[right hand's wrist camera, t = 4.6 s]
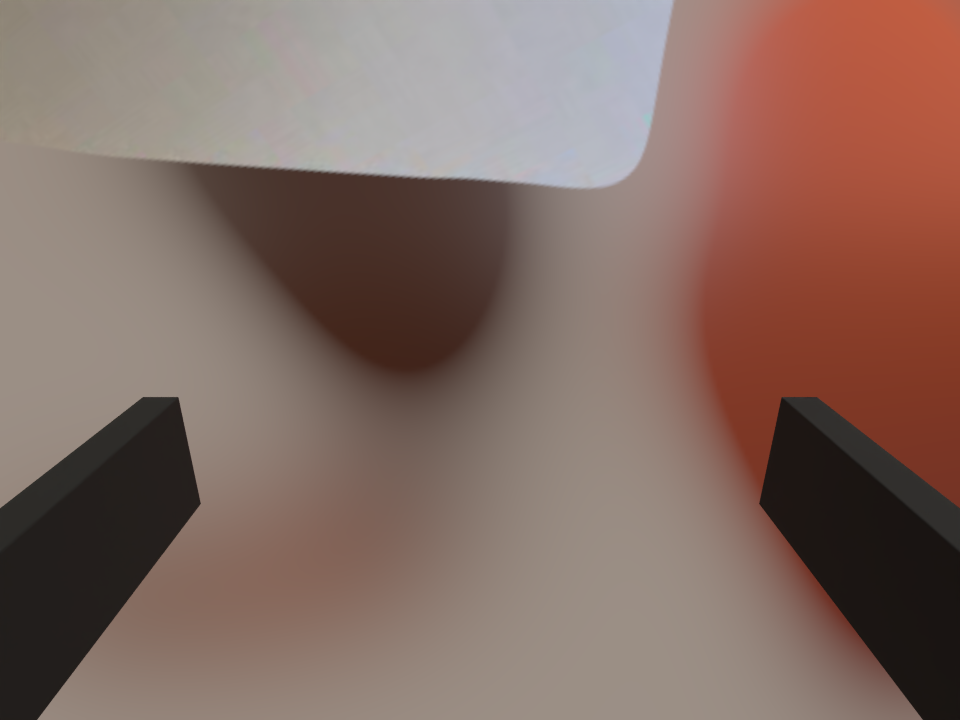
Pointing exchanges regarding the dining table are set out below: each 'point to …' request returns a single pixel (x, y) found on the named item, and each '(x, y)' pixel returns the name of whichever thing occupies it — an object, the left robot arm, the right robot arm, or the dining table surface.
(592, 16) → the dining table surface
